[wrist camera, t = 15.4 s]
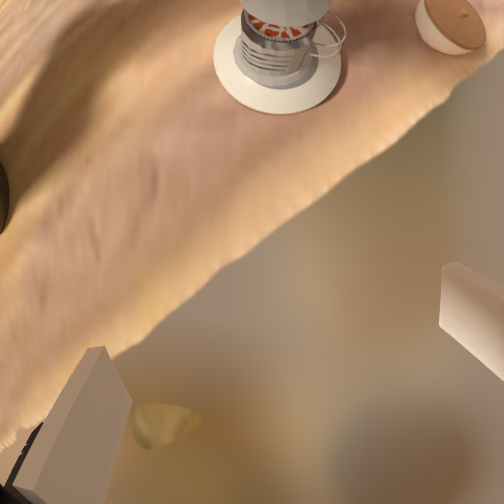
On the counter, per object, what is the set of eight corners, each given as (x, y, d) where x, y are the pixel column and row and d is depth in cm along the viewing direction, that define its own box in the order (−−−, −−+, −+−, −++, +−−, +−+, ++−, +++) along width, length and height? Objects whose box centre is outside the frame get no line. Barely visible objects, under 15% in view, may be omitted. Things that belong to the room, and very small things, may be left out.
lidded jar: (406, -3, 32) (431, -31, 23) (459, 27, 33) (489, 7, 23) (401, 43, 34) (432, 17, 25) (458, 75, 34) (494, 58, 25)
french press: (253, 12, 32) (259, -136, 7) (336, 46, 33) (422, -79, 8) (219, 68, 33) (184, -80, 9) (308, 105, 34) (397, -12, 10)
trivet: (189, 55, 34) (187, 49, 32) (281, -5, 32) (283, -11, 31) (271, 140, 37) (272, 138, 35) (361, 73, 35) (365, 69, 33)
